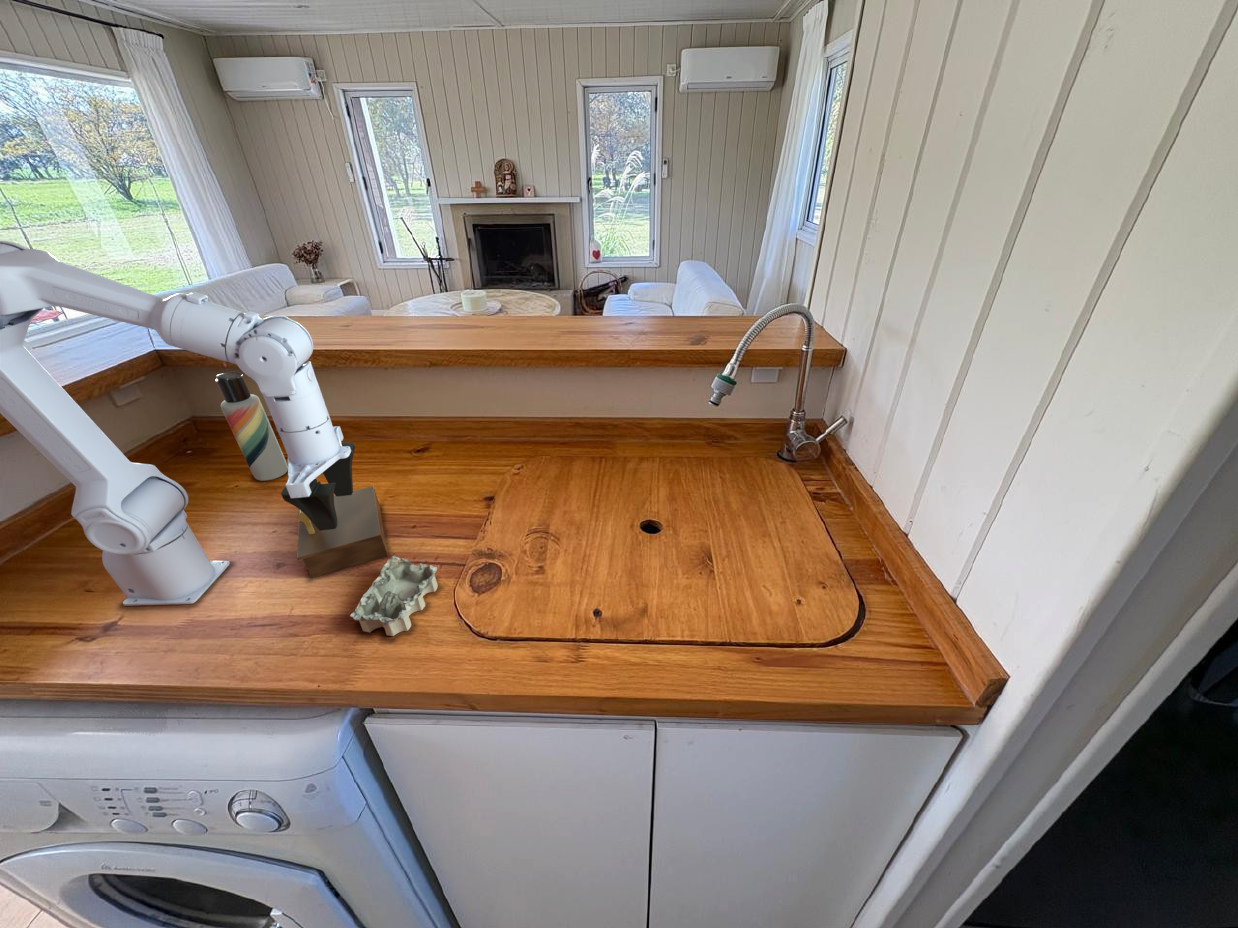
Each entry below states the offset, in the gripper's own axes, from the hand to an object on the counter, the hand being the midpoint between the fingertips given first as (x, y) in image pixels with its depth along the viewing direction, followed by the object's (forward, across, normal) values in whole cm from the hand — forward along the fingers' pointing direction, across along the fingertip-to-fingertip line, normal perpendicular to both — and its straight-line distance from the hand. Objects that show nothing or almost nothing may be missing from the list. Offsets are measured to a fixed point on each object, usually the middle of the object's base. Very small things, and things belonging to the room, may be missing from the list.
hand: (337, 510), depth 68 cm
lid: (+6, +7, +3) cm, 10 cm away
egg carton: (+10, -9, -8) cm, 16 cm away
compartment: (+10, +7, +3) cm, 12 cm away
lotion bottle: (+10, +30, +23) cm, 39 cm away
